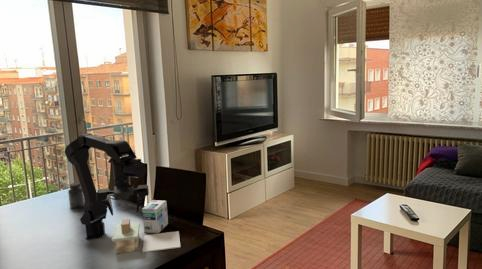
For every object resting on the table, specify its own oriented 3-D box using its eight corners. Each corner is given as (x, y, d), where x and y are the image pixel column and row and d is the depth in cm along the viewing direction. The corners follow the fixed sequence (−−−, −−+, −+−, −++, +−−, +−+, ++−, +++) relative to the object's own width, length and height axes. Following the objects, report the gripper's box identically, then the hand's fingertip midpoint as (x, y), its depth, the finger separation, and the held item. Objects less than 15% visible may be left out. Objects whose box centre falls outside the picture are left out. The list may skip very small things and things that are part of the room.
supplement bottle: (77, 203, 192) (74, 181, 190) (87, 204, 189) (85, 182, 187) (67, 208, 185) (64, 185, 183) (77, 209, 183) (75, 186, 181)
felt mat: (142, 252, 137) (142, 251, 136) (144, 236, 150) (144, 235, 150) (180, 247, 139) (180, 246, 139) (178, 232, 153) (178, 231, 153)
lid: (112, 244, 135) (110, 230, 134) (116, 230, 148) (115, 216, 147) (138, 241, 137) (136, 227, 136) (140, 227, 150) (138, 214, 149)
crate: (115, 253, 136) (113, 241, 136) (118, 239, 148) (117, 227, 147) (137, 250, 138) (136, 238, 137) (139, 236, 150) (138, 225, 149)
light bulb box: (158, 233, 152) (156, 209, 150) (143, 233, 153) (141, 208, 151) (168, 223, 162) (167, 200, 160) (154, 222, 164) (152, 199, 162)
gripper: (91, 183, 129) (96, 225, 131) (146, 178, 133) (149, 218, 135) (96, 174, 139) (100, 213, 142) (147, 170, 143) (150, 208, 146)
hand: (125, 213), depth 141 cm, fingers open, 9 cm apart
